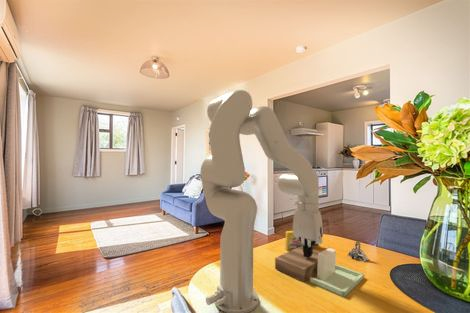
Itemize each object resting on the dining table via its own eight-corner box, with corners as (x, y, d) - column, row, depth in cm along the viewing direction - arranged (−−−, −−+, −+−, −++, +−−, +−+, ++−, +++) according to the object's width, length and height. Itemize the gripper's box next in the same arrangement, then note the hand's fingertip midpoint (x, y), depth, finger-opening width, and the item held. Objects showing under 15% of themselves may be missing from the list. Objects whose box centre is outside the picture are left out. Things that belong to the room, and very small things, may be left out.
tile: (317, 277, 77) (324, 280, 75) (318, 253, 77) (325, 256, 75) (328, 269, 83) (334, 272, 81) (329, 247, 82) (335, 250, 81)
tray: (344, 297, 66) (344, 292, 67) (309, 282, 75) (309, 277, 75) (364, 278, 77) (364, 274, 77) (332, 267, 85) (332, 263, 85)
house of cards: (335, 258, 95) (335, 239, 95) (349, 254, 99) (349, 236, 99) (356, 267, 87) (356, 246, 87) (370, 262, 91) (370, 243, 91)
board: (304, 281, 75) (304, 269, 75) (275, 268, 84) (275, 257, 84) (329, 265, 87) (329, 254, 87) (301, 255, 96) (301, 245, 96)
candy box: (287, 251, 101) (287, 232, 101) (285, 249, 103) (285, 231, 103) (319, 248, 105) (319, 230, 105) (316, 246, 107) (316, 228, 107)
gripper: (285, 204, 87) (284, 252, 87) (322, 211, 76) (322, 266, 76) (295, 202, 93) (295, 247, 92) (332, 208, 81) (332, 259, 81)
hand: (307, 256), depth 84 cm, fingers closed
